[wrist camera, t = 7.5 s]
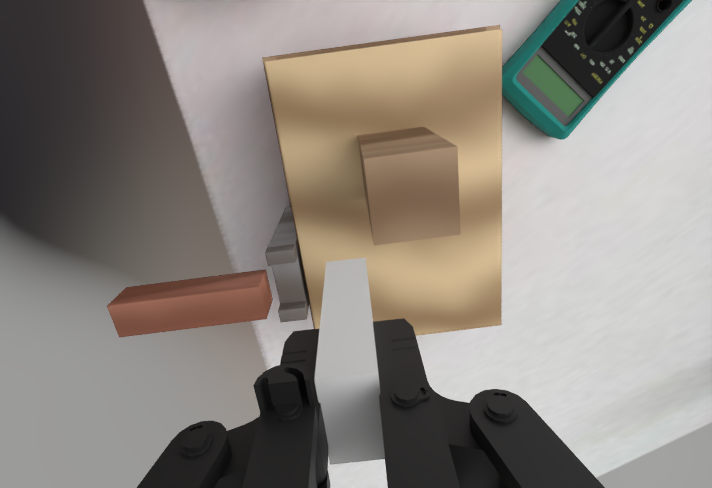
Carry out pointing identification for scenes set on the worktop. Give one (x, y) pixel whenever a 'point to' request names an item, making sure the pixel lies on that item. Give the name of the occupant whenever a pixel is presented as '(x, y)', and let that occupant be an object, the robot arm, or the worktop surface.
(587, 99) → the digital multimeter
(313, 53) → the brown wooden box
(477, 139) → the wooden block with peg
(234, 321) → the reddish brown rectangular block
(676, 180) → the worktop surface
